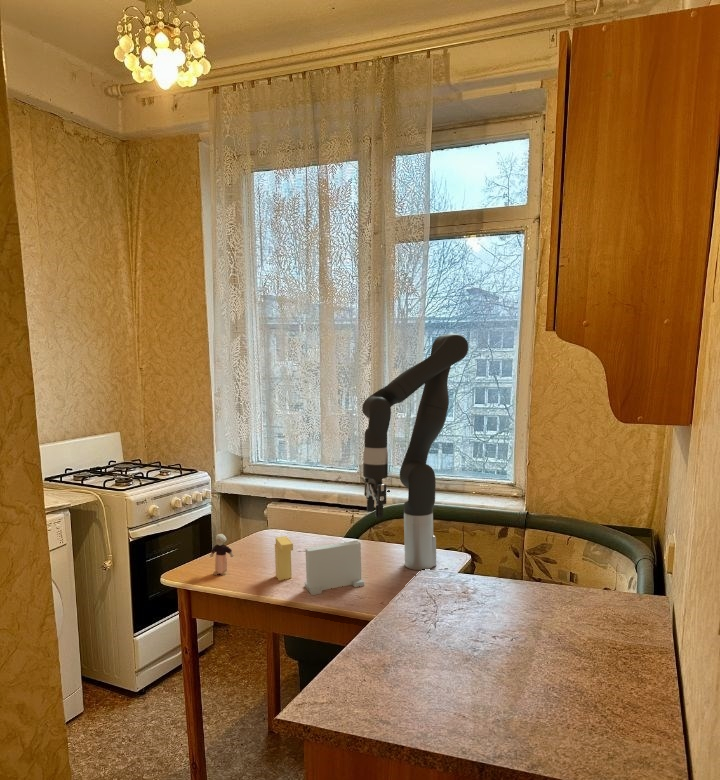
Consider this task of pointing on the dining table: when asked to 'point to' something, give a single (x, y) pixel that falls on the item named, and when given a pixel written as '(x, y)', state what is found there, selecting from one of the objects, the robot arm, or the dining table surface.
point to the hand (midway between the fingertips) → (374, 514)
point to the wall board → (333, 566)
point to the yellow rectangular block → (283, 557)
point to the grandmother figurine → (221, 555)
